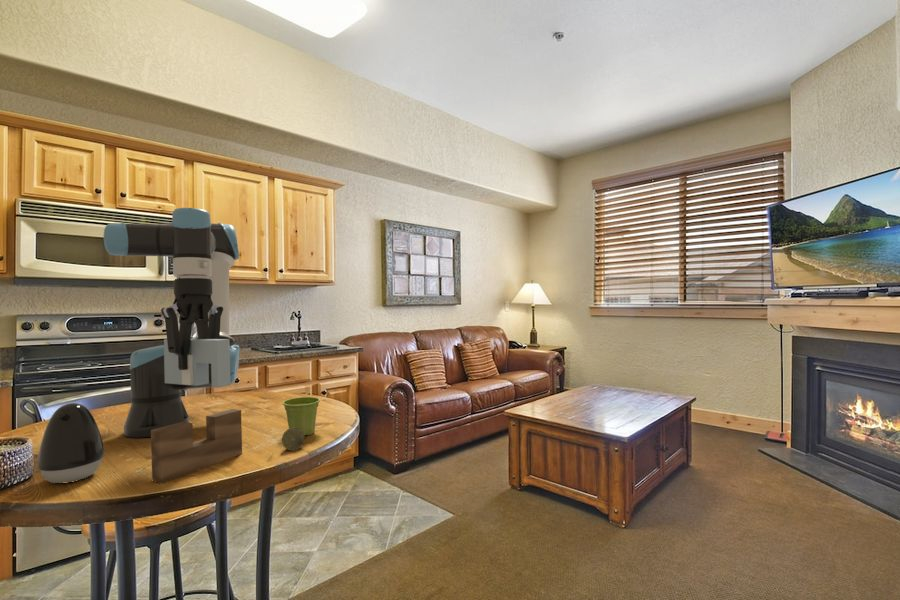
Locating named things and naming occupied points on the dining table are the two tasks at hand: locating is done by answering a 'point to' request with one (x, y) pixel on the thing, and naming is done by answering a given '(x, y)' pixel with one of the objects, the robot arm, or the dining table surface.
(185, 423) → the brown notched board
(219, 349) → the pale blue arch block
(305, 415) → the plant pot
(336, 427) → the dining table surface
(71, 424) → the black two-tone rounded device
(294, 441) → the dark grey round lump
